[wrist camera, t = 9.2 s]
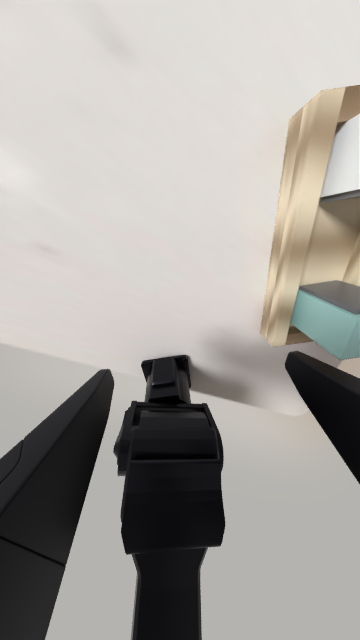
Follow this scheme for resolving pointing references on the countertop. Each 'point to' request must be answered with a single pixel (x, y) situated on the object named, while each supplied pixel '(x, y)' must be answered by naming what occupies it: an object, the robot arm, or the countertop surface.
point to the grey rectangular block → (343, 164)
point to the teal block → (330, 316)
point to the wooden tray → (310, 216)
